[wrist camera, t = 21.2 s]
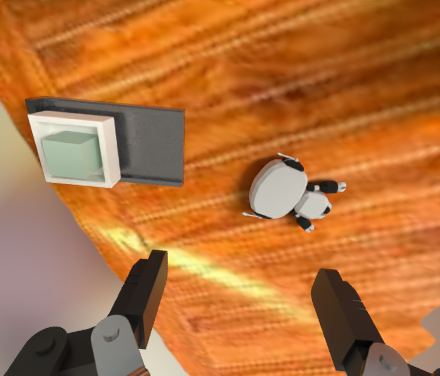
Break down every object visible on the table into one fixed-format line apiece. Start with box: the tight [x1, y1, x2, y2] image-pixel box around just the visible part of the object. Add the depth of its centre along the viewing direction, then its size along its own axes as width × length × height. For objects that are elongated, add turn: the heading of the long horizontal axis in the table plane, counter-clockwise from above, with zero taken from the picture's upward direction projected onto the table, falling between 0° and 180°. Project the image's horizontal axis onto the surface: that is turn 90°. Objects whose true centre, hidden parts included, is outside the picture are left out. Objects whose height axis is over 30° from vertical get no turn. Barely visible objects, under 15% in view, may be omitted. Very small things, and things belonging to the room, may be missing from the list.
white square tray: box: [28, 111, 121, 188], centre depth 36 cm, size 10×10×6 cm
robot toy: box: [242, 152, 346, 232], centre depth 41 cm, size 12×4×15 cm
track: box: [25, 96, 185, 187], centre depth 38 cm, size 13×22×4 cm, turn 85°
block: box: [41, 130, 103, 179], centre depth 34 cm, size 5×5×5 cm
